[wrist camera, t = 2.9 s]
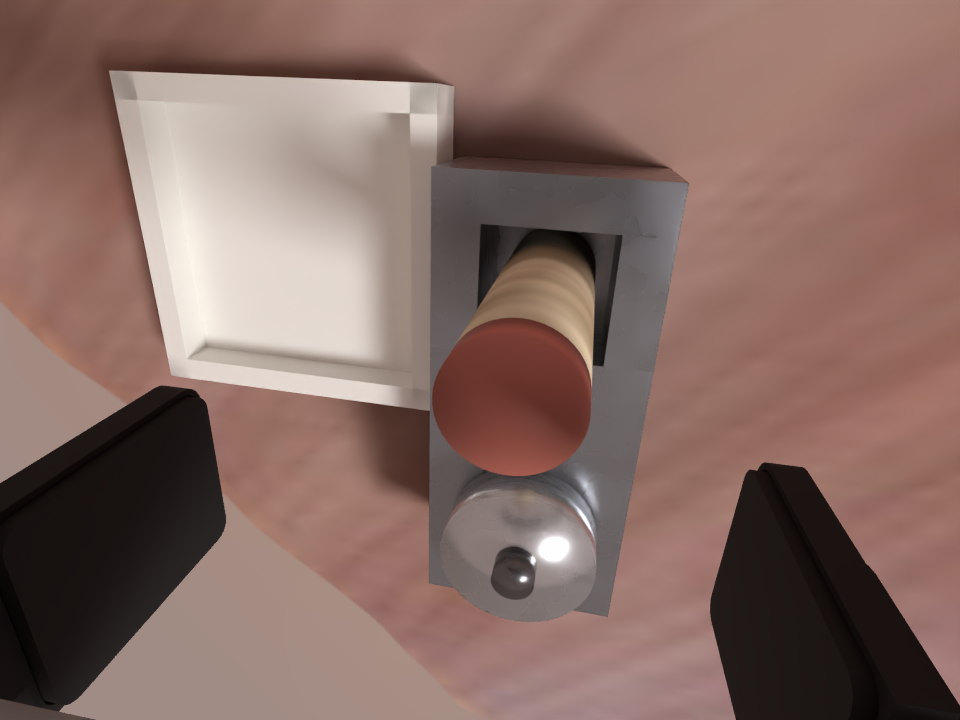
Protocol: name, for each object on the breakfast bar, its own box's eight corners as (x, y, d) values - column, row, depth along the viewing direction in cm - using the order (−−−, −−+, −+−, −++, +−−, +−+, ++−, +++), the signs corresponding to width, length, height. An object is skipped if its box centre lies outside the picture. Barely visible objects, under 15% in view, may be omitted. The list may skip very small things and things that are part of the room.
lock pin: (514, 222, 22) (432, 325, 11) (601, 229, 22) (600, 344, 11) (508, 304, 24) (431, 464, 13) (590, 312, 23) (580, 486, 12)
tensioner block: (465, 155, 23) (401, 175, 15) (670, 168, 21) (705, 196, 14) (454, 512, 30) (408, 638, 23) (606, 537, 29) (608, 679, 21)
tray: (155, 74, 24) (109, 70, 21) (454, 86, 22) (437, 83, 19) (204, 355, 29) (171, 375, 27) (448, 386, 27) (434, 411, 25)
